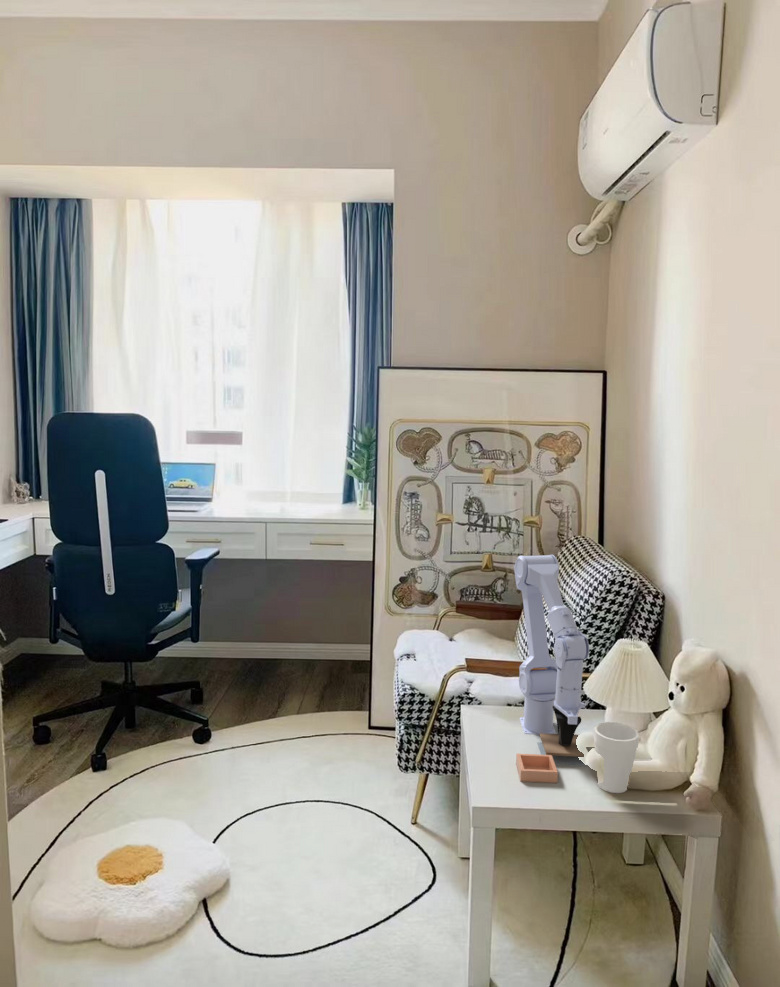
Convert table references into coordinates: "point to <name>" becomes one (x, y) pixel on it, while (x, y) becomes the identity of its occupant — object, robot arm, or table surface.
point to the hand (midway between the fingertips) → (564, 740)
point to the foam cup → (616, 753)
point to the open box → (536, 768)
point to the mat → (562, 758)
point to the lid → (559, 745)
